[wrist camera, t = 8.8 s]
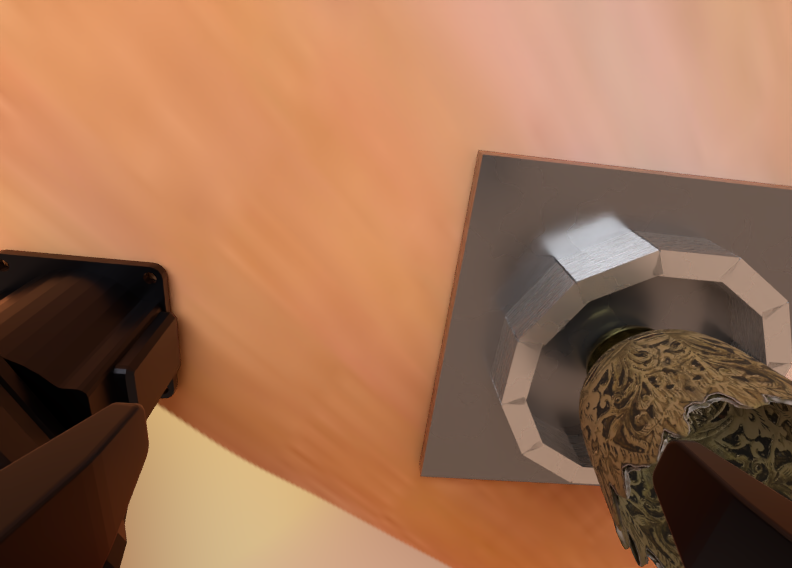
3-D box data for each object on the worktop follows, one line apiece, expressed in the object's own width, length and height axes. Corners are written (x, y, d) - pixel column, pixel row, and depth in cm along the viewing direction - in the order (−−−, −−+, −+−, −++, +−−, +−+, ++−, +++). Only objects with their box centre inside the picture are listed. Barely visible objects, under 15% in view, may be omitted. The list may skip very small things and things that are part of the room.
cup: (693, 250, 19) (886, 369, 12) (715, 384, 22) (879, 543, 15) (516, 318, 20) (596, 464, 13) (561, 438, 23) (645, 610, 16)
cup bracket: (419, 464, 25) (424, 510, 22) (478, 150, 18) (495, 165, 15) (707, 479, 26) (742, 525, 24) (864, 194, 19) (938, 216, 17)
